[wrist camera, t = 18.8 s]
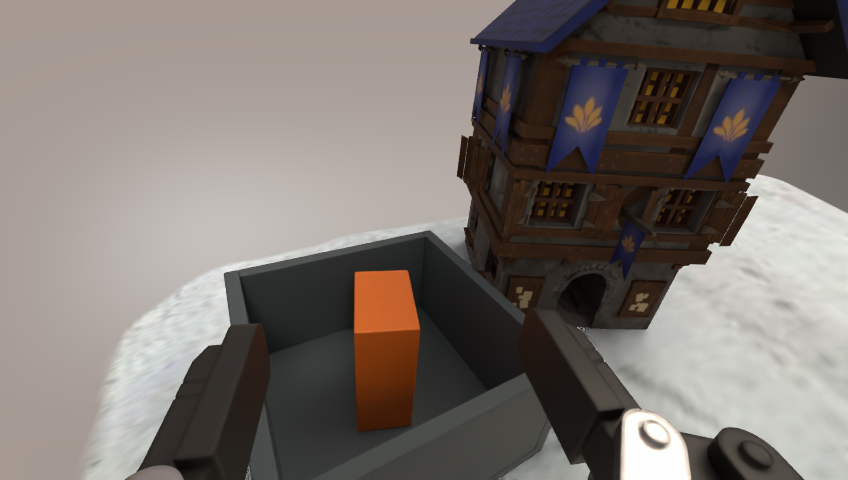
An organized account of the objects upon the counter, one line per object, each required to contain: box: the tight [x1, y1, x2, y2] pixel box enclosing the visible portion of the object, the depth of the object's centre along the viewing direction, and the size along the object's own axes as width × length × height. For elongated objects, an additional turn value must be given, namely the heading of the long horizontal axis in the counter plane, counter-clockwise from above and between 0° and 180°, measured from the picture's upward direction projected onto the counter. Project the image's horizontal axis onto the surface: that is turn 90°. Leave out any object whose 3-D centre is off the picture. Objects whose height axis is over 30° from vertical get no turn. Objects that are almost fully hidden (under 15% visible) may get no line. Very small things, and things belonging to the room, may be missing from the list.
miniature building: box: [457, 0, 848, 329], centre depth 28 cm, size 19×21×30 cm
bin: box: [224, 230, 551, 480], centre depth 21 cm, size 15×15×8 cm
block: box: [354, 270, 420, 432], centre depth 21 cm, size 3×5×8 cm, turn 9°
